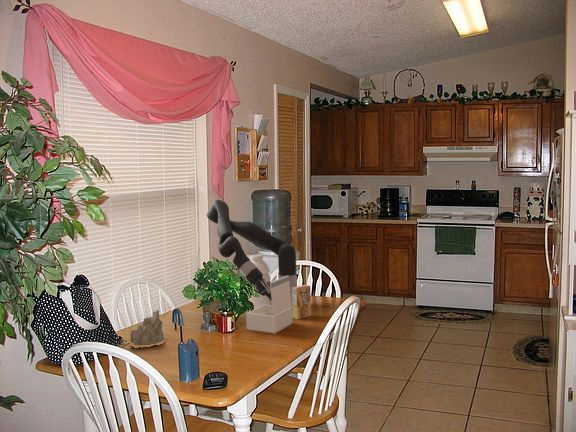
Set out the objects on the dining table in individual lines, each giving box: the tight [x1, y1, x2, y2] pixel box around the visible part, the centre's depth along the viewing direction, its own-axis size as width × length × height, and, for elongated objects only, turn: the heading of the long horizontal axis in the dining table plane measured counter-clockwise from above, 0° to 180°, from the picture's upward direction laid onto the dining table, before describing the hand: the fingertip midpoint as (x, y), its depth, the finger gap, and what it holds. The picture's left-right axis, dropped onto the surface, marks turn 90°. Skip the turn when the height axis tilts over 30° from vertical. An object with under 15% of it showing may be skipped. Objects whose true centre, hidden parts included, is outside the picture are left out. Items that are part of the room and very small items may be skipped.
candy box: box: [292, 284, 312, 320], centre depth 286 cm, size 9×4×15 cm, turn 129°
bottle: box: [249, 254, 272, 309], centre depth 306 cm, size 14×14×28 cm
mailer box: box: [245, 304, 294, 335], centre depth 272 cm, size 15×17×8 cm
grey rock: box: [129, 309, 167, 345], centre depth 254 cm, size 16×16×15 cm
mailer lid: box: [270, 275, 292, 316], centre depth 268 cm, size 1×17×15 cm, turn 151°
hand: (274, 300), depth 270 cm, fingers closed
